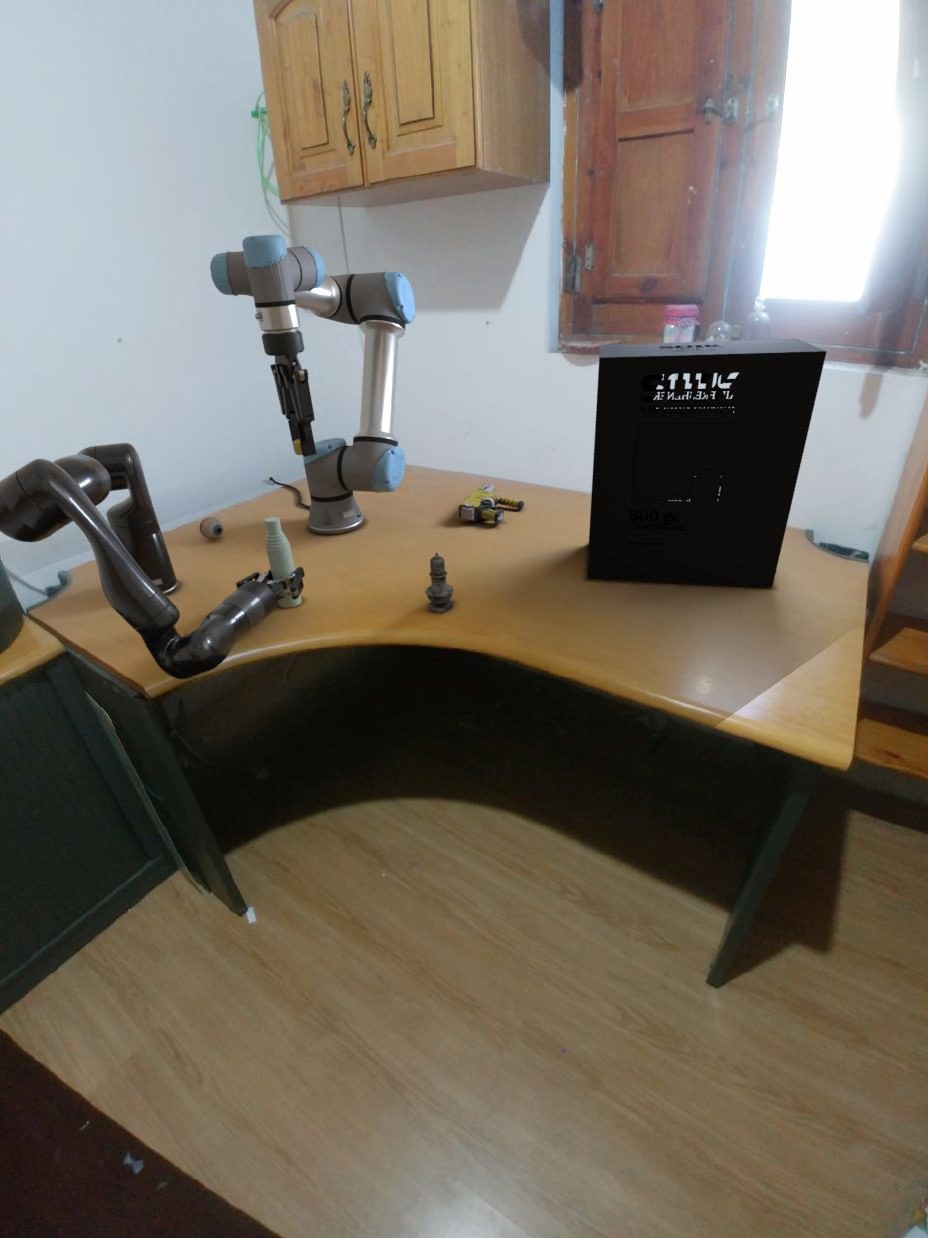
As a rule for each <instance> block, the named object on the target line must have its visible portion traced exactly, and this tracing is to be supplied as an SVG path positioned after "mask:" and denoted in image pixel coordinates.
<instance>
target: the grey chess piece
mask: <svg viewBox="0 0 928 1238" xmlns="http://www.w3.org/2000/svg"><path fill="white" fill-rule="evenodd" d="M429 566H430V572H429V573H428V575H429V577H430V581H431V583H430V584H431V585H430V586H428V587H426V589H425V590H424V592H425V595H426V596H427V599H428V600H429V601H430V602H428V603H427V604H428V606H427V608H428V609H429V610H430V611H432V612H435V613H443V612H448V611H450V610H451V609H453V607H454V603H453V601H452V600H451V599H452V597H453V593H454V591H455V589H454V587H453V586H452V585H450V584H448V583H447V575H448V572H447V571H446V565H445V559H444V558H443V556H440V555H439V553H438V552H435V554H434V556H432V557H431V558H430V559H429Z"/></svg>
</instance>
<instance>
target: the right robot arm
mask: <svg viewBox="0 0 928 1238" xmlns="http://www.w3.org/2000/svg"><path fill="white" fill-rule="evenodd" d="M241 245H242V250H241V251H229V250H227V251H225V252H220V253H216V254H214V255H213V257H212V258H211V260H210V263H209V264H210V265H209V269H210V277H211V281H212V283H213V285H214V286H215V288H216V289H217V290H218V291H219V292H220V293H221V294H222V295H224V296H233V297H236V296H249V297H252V298H253V301H254V307H255V312H256V313H255V314H254V319H255V320H257V321H258V325H259V329H260V331H261V332H263V333H262V334H261V340H262V345H263V350H264V353H265V355H267V356H269V357H272V356H273V357H274V363H273V364H270V369H271V372H272V376H273V379H274V384H275V388H276V393H277V397H278V401H279V406H280V410H281V414H282V415H283V416H285V418H286V420H287V423H288V428H289V432H290V439H291V443H292V444H293V441H295V440H298V439H300V444H301V448H302V453H303V455H302V457H303V458H302V460H303V467H304V471H305V477H306V481H307V486H308V492H309V498H310V505H308V504H304V503H303V502H302V494H301V492H300V490H299V489H297V488H296V487H295V486H292V485H291V484H287V483H281V482H278V481H276V480H275V479H274V478H273V477H272V476H269V478H268V481H272V482H273V483H274V484H275V485H278V486H282V487H285V488H290V489H292V490H293V491H295V492H296V493H297V495H298V504H299V505H300V506H301V507H303V508H306V509H309V513H308V521H307V522H308V523H307V524H308V528H309V529H308V530H310V531H311V532H312V533H314V534H317V535H323V536H324V535H325V536H327V535H329V536H331V535H339V534H340V535H341V534H345V533H350V532H353V531H355V530H357V529H359V528H361V527H362V526H363V525H364V523H365V519H364V514H363V512H362V510H361V508H360V505H359V504H358V501H357V500H356V498H355V495H354V492H367V493H369V492H370V493H375V494H376V493H377V494H381V493H392V492H394V491H396V490H397V489H398V487H399V486H400V485H401V484H402V481H403V478H404V475H405V470H406V459H405V455H406V454H405V451H404V450H403V449H402V448H401V447H400V446H399V440H398V439H397V438H396V437H395V436H394V421H395V405H396V389H397V372H398V358H399V357H398V354H399V341H400V339H401V338H403V337H404V335H405V334H406V326H407V325H410V324H412V323H413V322H414V319H415V316H416V302H415V296H414V292H413V289H412V286H411V284H410V281H409V279H408V277H406V275H405V274H404V273H402V272H400V271H389V270H385V271H380V272H379V271H378V272H377V271H376V272H364V273H363V272H362V273H347V274H338V275H328V274H326V266H325V263H324V260H323V258H322V255H320V253H319V252H318V251H316V250H315V249H314V248H312V247H308V246H304V245H299V246H292V247H287V246H286V241H285V239H284V237H283V236H282V235H281V234H261V235H260V234H259V235H250V236H245V237H244V238H243V239H242V243H241ZM298 308H300V309H303V310H308V311H310V312H311V313H312V314H313V315H314V316H316V317H318V318H322V319H326V320H330V321H333V322H337V323H340V324H346V325H352V326H359V330H360V331H361V332H362V333H363V335H364V345H363V359H362V361H363V363H362V379H361V382H362V383H361V397H360V414H359V415H360V417H359V431H358V432H357V433H356V434H355V435H353V438H352V445H348V444H347V441H346V439H345V438H342V437H334V438H328V439H323V440H318V441H315V438H314V434H313V428H312V422H315V420H316V418H315V413H314V407H313V401H312V396H311V395H312V394H311V388H310V384H309V371H308V369H307V368H304V369H303V368H302V367H303V366H302V364H301V363H300V362H301V361H300V360H299V356H298V354H301V353H303V352H304V351H305V343H304V338H303V333H302V331H301V330H299V328H300V327H301V320H300V316H299V310H298ZM292 447H293V448H292V449H294V446H293V445H292ZM293 451H294V450H293ZM294 453H295V451H294Z"/></svg>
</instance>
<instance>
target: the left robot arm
mask: <svg viewBox="0 0 928 1238" xmlns="http://www.w3.org/2000/svg"><path fill="white" fill-rule="evenodd" d="M146 480H147V479H146V476H145V473H144V469H143V465H142V461H141V457H140V456H139V453H138V451H137V449H136V448H135V447H134V445H132V443H129V442H119V443H109V444H100V445H91V446H87V447H85V448H83V449H81V450H80V451H78V452H77V453H76V454H70V455H67V456H63V457H60V458H57V459H55V460H53V461H51V460H49V459H45V458H36V459H33V460H32V461H29V462H28V463H26V464H25V465H23V466H21V467H20V468H18V469H16V470H14V471H13V472H12V473H11V474H9V475H8V476H6V477H4V478H2V479H1V480H0V533H2V534H3V535H5V536H6V537H8V538H11V539H12V540H15V541H18V542H23V543H38V542H40V541H43V540H46V539H48V538H50V537H51V536H52V535H53V534H56V532H58V531H60V530H62V529H63V528H64V527H66V526H67V525H70V523H73V522H74V524H76V526H77V527H78V528H79V529H80V530H81V532H82V533H83V534H84V536H85V537H86V539H87V541H88V542H89V544H90V547H91V548H92V552H93V555H94V559H95V562H96V566H97V570H98V576H99V581H100V584H101V588H102V591H103V594H104V596H105V598H106V601H107V602H108V603H109V605H110V606H111V608H112V609H113V610H114V611H115V612H116V613H117V614H118V615H119V616H120V617H121V618H122V619H123V620H124V621H125V622H126V623H127V624H128V625H129V626H130V627H131V628H132V629H133V630H134V631H136V632H137V634H139V635H140V637H141V639H142V642H143V643H144V645H145V647H146V648H147V650H148V651H149V653H150V655H151V656H152V658H153V660H154V662H155V663H156V665H157V666H158V667H159V668H160V669H161V670H162V671H163V672H164V673H165V674H167V675H168V676H170V677H172V678H174V679H178V680H187V679H190V678H194V677H196V676H198V675H201V674H204V673H207V672H210V671H213V670H214V669H215V668H217V667H219V666H220V665H222V663H223V662H224V661H225V660H226V659H227V657H228V656H229V655H230V653H231V652H232V650H233V648H234V646H235V644H236V643H238V642H239V641H240V640H242V638H244V636H245V635H247V634H248V633H250V632H251V631H252V630H254V629H256V627H257V626H259V625H260V624H261V623H262V622H263V621H264V620H265V619H266V618H267V617H268V616H269V615H271V613H273V611H274V610H275V608H276V606H277V603H278V601H279V600H281V599H283V598H284V597H285V596H292V599H298V597H299V595H300V596H301V593H302V592H303V590H304V588H305V585H304V580H303V578H305V576H306V575H305V570H304V567H303V566H298V567H297V568H295V570H294V571H293V572H292V573H291V574H290V575H288V576H286V577H284V576H281V577H279V578H277V579H275V580H273V576H272V572H271V568H270V569H269V570H267V571H263V572H262V573H260V571H256V572H253V573H251V574H250V575H248V576H246V577H244V578H242V579H240V580H238V581H237V582H235V585H236V590H234V591H233V592H232V593H231V594H229V595H228V596H227V597H226V598H225V599H224V600H223V601H222V602H220V604H219V605H218V606H216V607H215V608H214V609H213V610H211V612H209V613H208V614H207V615H206V616H205V617H204V618H203V619H202V620H201V622H200V626H199V627H198V628H196V629H194V630H193V631H191V632H189V633H187V634H184V635H180V633H179V632H178V630H177V628H176V626H175V625H176V624H177V623H178V622H179V620H180V617H181V613H180V610H179V609H178V606H176V604H175V603H173V601H172V600H171V599H170V598H169V597H168V595H170V594H172V593H174V592H175V591H177V589H178V588H179V586H180V585H179V581H178V579H177V576H176V573H175V570H174V566H173V564H172V561H171V558H170V557H171V556H170V554H169V551H168V548H167V544H166V542H165V538H164V535H163V533H162V529H161V526H160V523H159V520H158V518H157V515H156V511H155V508H154V505H153V501H152V498H151V494H150V491H149V488H148V484H147V481H146ZM122 490H128V492H129V495H128V496H127V497H126V498H125V499H123V500H122V501H119V502H118V503H116V504H114V505H112V506H111V507H110V508H108V509H107V511H106V512H105V514H106V516H105V517H106V519H107V520H106V519H105V517H104V516H103V515H102V513H101V512H100V511H99V509H98V508H97V506H99V505H100V504H101V503H103V502H104V501H105V500H106V499H107V498H108V497H109V494H110V492H116V491H122ZM289 580H291V584H289ZM281 582H282V583H281Z"/></svg>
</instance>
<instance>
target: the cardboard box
mask: <svg viewBox="0 0 928 1238" xmlns="http://www.w3.org/2000/svg"><path fill="white" fill-rule="evenodd" d="M827 352H828V351H827V350H824V349H822V348H820V347H818V346H815V345H813V344H811V343H808V342H806V341H802V340H801V339H799V338H768V339H766V338H765V339H737V340H736V339H735V340H709V341H708V340H707V341H705V340H703V341H675V342H672V341H671V342H648V343H647V342H646V343H645V342H644V343H643V342H642V343H616V344H615V343H614V344H612V343H611V344H600V348H599V355H598V356H599V358H598V370H597V371H598V372H597V390H596V391H597V392H596V409H595V410H596V411H595V426H594V445H593V459H592V460H593V461H592V462H593V463H592V479H591V497H590V515H589V532H588V533H589V535H588V547H587V548H588V549H587V568H586V580H588V581H611V582H635V583H655V584H657V583H658V584H675V585H676V584H679V585H698V586H699V585H703V586H725V587H743V588H744V587H745V588H746V587H747V588H768V589H773V586H774V582H775V578H776V573H777V569H778V565H779V560H780V555H781V550H782V548H783V543H784V540H785V539H784V538H785V534H786V530H787V525H788V521H789V517H790V513H791V512H790V511H791V509H792V504H793V499H794V496H795V490H796V486H797V483H798V477H799V474H800V469H801V465H802V461H803V456H804V451H805V447H806V444H807V443H806V442H807V439H808V434H809V429H810V425H811V421H812V416H813V412H814V408H815V404H816V400H817V395H818V391H819V387H820V382H821V378H822V373H823V368H824V365H825V360H826V356H827ZM685 374H689V378H688V385H690V388H686V384H687V379H685V378H684V375H685ZM699 374H700V379H699V378H697V375H699ZM715 374H716V380H715V384H714V386H713V383H714V378H715ZM731 374H736V376H735V378H729V377H730V376H731ZM672 375H677V378H676V379H675V380H674V384H673V385H674V387H673V388H671V385H672V379H671V378H670V377H671V376H672ZM719 379H720V381H719ZM700 384H701V385H705V387H704V388H699V385H700ZM719 384H720V385H724V384H729V387H720V386H719ZM659 386H661V387H662V388H658V387H659Z"/></svg>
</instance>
